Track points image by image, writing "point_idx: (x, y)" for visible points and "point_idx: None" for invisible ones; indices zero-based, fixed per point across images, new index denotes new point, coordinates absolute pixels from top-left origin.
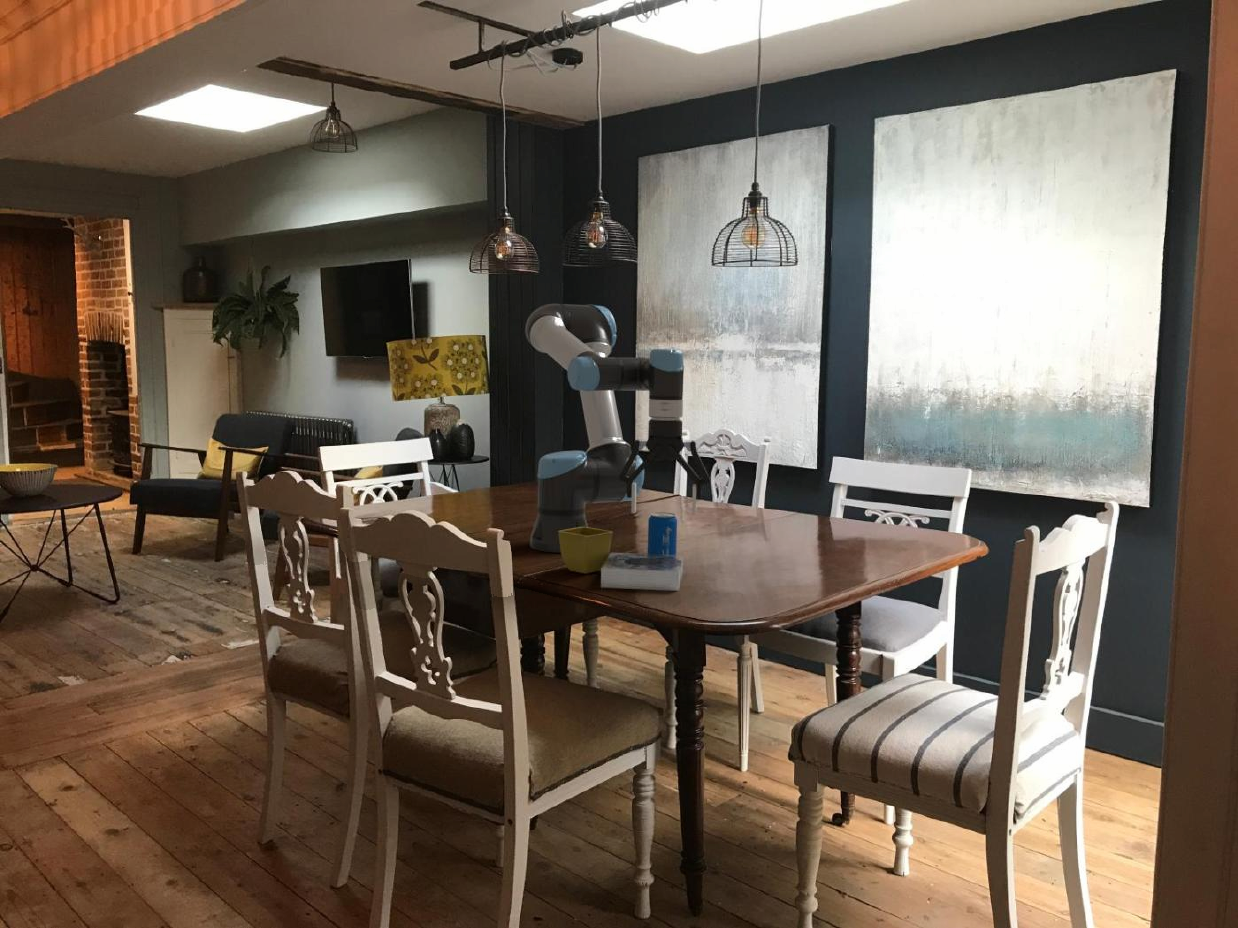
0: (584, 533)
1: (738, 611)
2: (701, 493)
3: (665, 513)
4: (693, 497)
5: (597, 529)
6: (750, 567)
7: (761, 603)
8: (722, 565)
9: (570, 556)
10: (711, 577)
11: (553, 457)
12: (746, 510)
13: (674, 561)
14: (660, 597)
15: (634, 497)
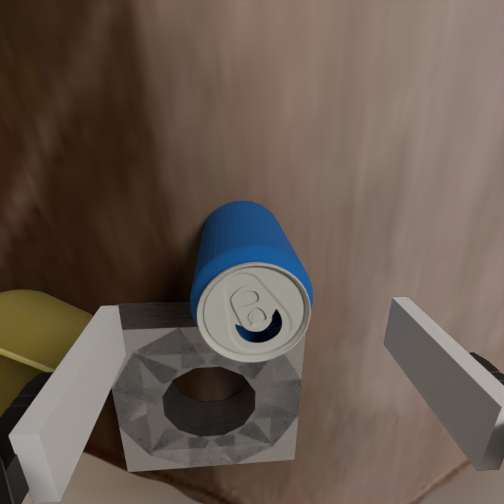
0: None
1: (372, 494)
2: (502, 380)
3: (263, 266)
4: (434, 404)
5: (11, 357)
6: (476, 196)
7: (416, 455)
8: (406, 187)
9: (4, 379)
10: (359, 317)
11: None
12: None
13: (284, 385)
14: (256, 462)
15: (95, 417)
